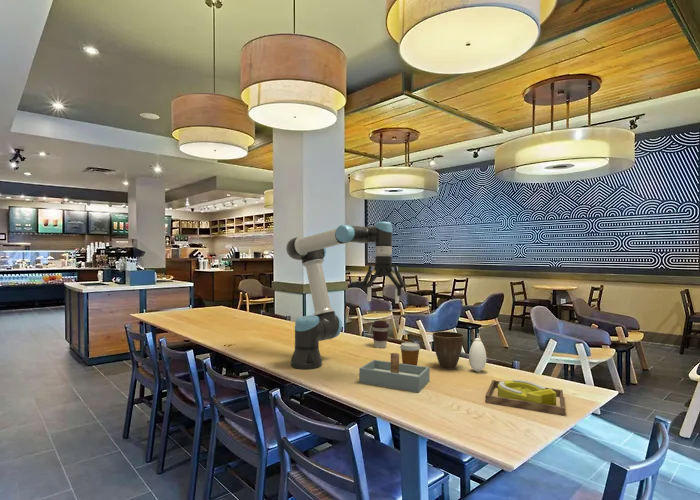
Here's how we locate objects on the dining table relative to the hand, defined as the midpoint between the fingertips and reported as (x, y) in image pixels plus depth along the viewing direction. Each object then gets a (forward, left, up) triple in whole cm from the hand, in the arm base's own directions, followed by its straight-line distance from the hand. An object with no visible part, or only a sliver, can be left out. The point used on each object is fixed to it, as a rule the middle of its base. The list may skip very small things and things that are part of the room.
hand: (382, 302), depth 184 cm
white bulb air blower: (+38, +26, -33) cm, 57 cm away
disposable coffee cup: (+9, +13, -33) cm, 37 cm away
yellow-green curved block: (+60, -4, -33) cm, 68 cm away
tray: (+9, -8, -33) cm, 35 cm away
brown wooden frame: (+60, -4, -33) cm, 68 cm away
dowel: (+9, -8, -33) cm, 35 cm away
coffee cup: (-21, +50, -33) cm, 63 cm away
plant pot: (+24, +26, -33) cm, 48 cm away
